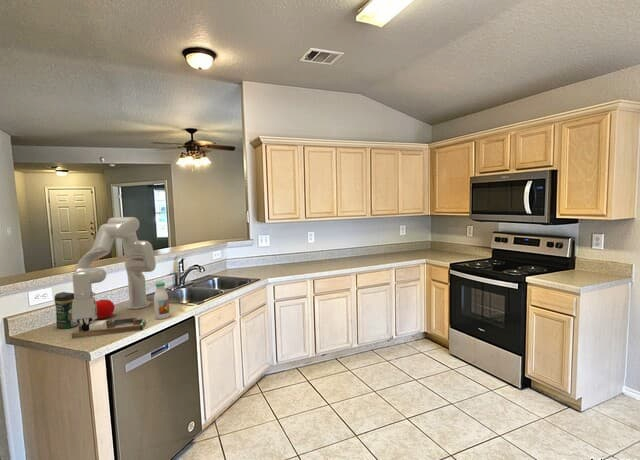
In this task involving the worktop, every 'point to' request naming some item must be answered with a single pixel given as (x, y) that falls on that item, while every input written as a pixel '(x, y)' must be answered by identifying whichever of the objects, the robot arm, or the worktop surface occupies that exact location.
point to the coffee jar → (64, 310)
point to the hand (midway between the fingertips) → (85, 331)
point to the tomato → (104, 308)
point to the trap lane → (113, 330)
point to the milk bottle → (161, 302)
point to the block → (98, 325)
